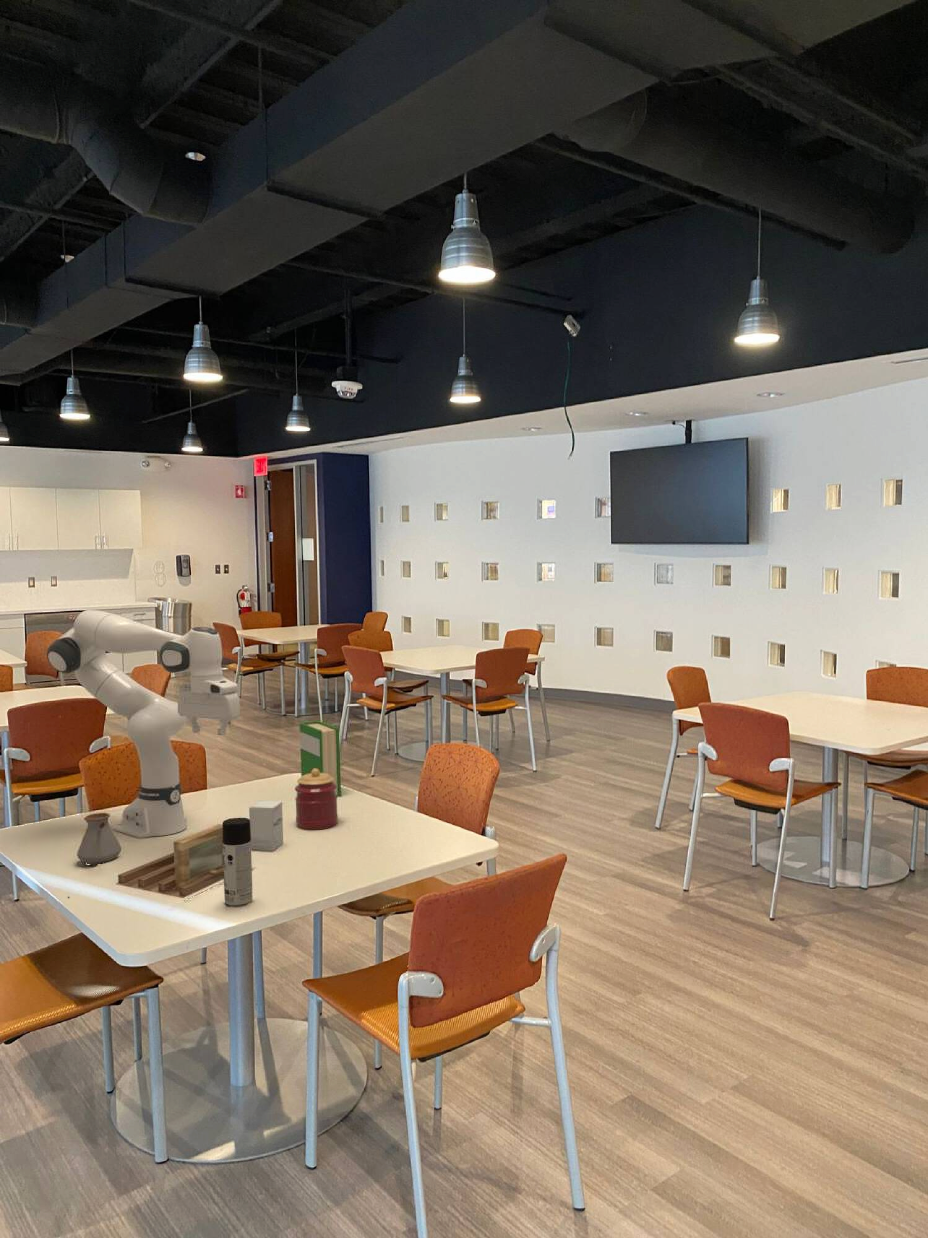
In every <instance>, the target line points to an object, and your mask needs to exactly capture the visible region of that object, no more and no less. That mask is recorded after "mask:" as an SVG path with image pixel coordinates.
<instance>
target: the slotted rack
mask: <svg viewBox="0 0 928 1238" xmlns="http://www.w3.org/2000/svg"><path fill="white" fill-rule="evenodd" d="M117 879H118V882H117V883H115V885H116V886H117V885H118V886H122V887H126V888H127V887H128V888H133V889H138V890H142V891H147V892H152V893H156V894H162V895H164V896H165V895H167V896H169V897H170V896H171V897H176V898H180V899H181V898H182V899H184V898H186V897H188V896H190V895H192V894H194V897H196V896H198V895H200V894H203V893H205V892H207V891H209V890H211V889H213V888H214V887H215V888H216V887H217V886H219V885H221V884H224V881H222V880H224V867H223V868H221V869H218V870H212V871H210V874H207V875H205V876H203V877H201V878H198V879H196V880H194V881H192V882H190V883H187V884H185V885H183V886H181V887H179V889H176V886H175V863H174V852H172V853H169V854H167V855H164V856H162V857H158V858H157V859H154V860H152V861H149V862H146V863H143V864H142V865H140V866H137V867H135V868H132V869H129V870H127V871H125V872H122V873H120V874H118V875H117ZM219 881H222V882H220V883H218V882H219ZM216 883H218V884H216ZM213 884H216V885H214V886H211V885H213ZM209 886H211V887H210V888H208V887H209ZM205 888H207V889H205ZM202 889H205V890H203V891H202V892H199V893H197V894H195V893H196V892H198V891H201V890H202ZM208 889H209V890H208ZM204 891H205V892H204ZM191 897H192V896H191ZM191 897H188V898H187V899H188V900H190V899H192V898H191ZM189 898H190V899H189ZM185 900H186V899H184V900H183V901H184V902H186V901H185Z"/></svg>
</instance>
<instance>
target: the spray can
mask: <svg viewBox="0 0 928 1238" xmlns="http://www.w3.org/2000/svg"><path fill="white" fill-rule="evenodd" d="M222 825H223V867H224V879H223V882H224V883H223V890H224V892H223V893H224V894H223V895H224V903H225V905H226V906H230V907H242V906H243V907H244V906H245V905H249V904H250V903H251V902H252V900H253V866H252V862H253V861H252V859H253V858H252V850H251V829H250V818H247V817H231V818H226V819H225V820H223V821H222Z"/></svg>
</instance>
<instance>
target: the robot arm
mask: <svg viewBox="0 0 928 1238" xmlns="http://www.w3.org/2000/svg"><path fill="white" fill-rule="evenodd" d="M222 647H223V645H222V640H221V636H220V633H219V632H218V631H217V630H216V629H215V628H211V627H205V626H197V627H196V626H194V627H192V628H191V629H190V630H189V631H188V632H187V633H185V634H179V633H176V632H174V631H173V632H172V631H169V630H166V629H165V630H164V629H160V628H157V627H154V626H150V625H147V624H143V623H141V622H138V621H135V620H132V619H131V618H128V617H124V616H121V615H118V614H115V613H113V612H112V613H111V612H108V611H104V610H96V609H87V610H84V611H82V612H80V613H79V614H78V615H77V617H76V618H75V619H74V622H73V627H71V628H69V630H68V631H66V632H65V633H64V634H62V635H61V636H60V637H59V638H58V639H56V640H54V641H53V642H52V643H51V644H50V645H49V647H48V648H47V649H46V658H47V660H48V662H49V664H50V665H51V667H52V668H53V669H54V670H56V671H57V672H58V673H61V674H71V673H74V676H75V678H76V679H75V680H77V682H79V683H80V685H81V686H82V687H83V688H84V689H85V690H86V691H87V692H88V693H89V694H90V695H91V696H92V697H94V698H95V699H96V700H97V701H99V702H100V703H102V704H103V705H104V706H105V707H106V708H108V709H109V710H111V711H112V712H113V713H115V714H116V715H119V716H123V717H126V718H128V721H127V723H126V733H127V736H128V738H129V740H131V742H132V743H134V746H135V749H136V751H137V754H138V757H139V763H140V776H141V777H140V778H141V779H140V781H141V785H140V786H138V787H135V788H134V789H135V792H138V793H137V797H136V798H135V799H134V800H133V801H132V802H130V804H128V805H127V806H126V807H125V808H124V809H123V811H122V818H121V819H122V822H119V823H117V824H115V826H114V829H113V830H114V831H115V832H120V833H123V834H125V835H129V836H132V837H136V838H140V839H142V838H143V839H144V838H148V837H157V836H158V837H159V836H168V835H173V834H176V833H179V832H182V831H184V830H185V829H186V828H187V827H188V824H187V819H186V818H185V813H184V807H183V801H182V800H183V799H182V797H181V795H182V783H181V782H180V769H179V768H180V767H179V766H180V765H179V758H178V756H177V755H176V754H175V752H174V749H173V746H172V742H171V737H172V736H174V735H176V734H177V733H179V732H180V731H181V729H182V728H184V726H185V724H186V722H187V719H188V722H189V724H190V726H191V731H192V732H191V733H193V734H194V733H195V734H198V733H200V732H201V731H202V730H201V725H199V724H198V718H199V719H211V720H219V724H221V725H220V728H217V736H225V735H226V734H227V727H228V725H229V723H230V721H234V720H237V719H238V718H239V716H241V715H240V714H241V711H240V710H241V707H240V697H239V694H238V693H237V692H238V691H239V686H238V684H237V683H236V682H234V681H231V680H229V679H228V678H225V677H224V673H223V668H222V661H223V648H222ZM140 652H142V653H143V652H159V655H158V657H159V662H160V665H161V666H162V668H163V669H164V670H165V671H166V672H168V673H170V674H171V673H172V674H181V673H187V672H189V673H190V675H189V677H190V683H183V684H182V685H181V686H180V687H179V689H178V692H179V693H178V699H177V702H176V701H173V700H170V699H168V698H165V697H163V696H162V695H159V694H158V693H156V692H154V691H152V690H150V689H148V688H146V687H144V686H143V685H141V684H139V683H138V682H137V681H135V680H134V679H133V678H131V677H130V676H129V675H127V674H126V673H125V672H124V671H122V670H121V669H119V667H117V666H115V665H114V664H113V663H111V662H110V660H108V658H107V655H106V654H109V653H110V654H111V653H113V654H125V655H126V654H133V653H140Z"/></svg>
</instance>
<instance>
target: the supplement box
mask: <svg viewBox="0 0 928 1238" xmlns="http://www.w3.org/2000/svg"><path fill="white" fill-rule="evenodd" d="M248 810H249V814H248V815H249V820H250V829H251V851H262V852H274V851H276V849H277V848H279V847H280V846H281V845H283V844H284V824H283V823H284V821H283V818H284V817H283V801H281V800H280V801H278V800H259V801H257V802H256V803H254V804H253V805H251V806H249V807H248Z"/></svg>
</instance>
